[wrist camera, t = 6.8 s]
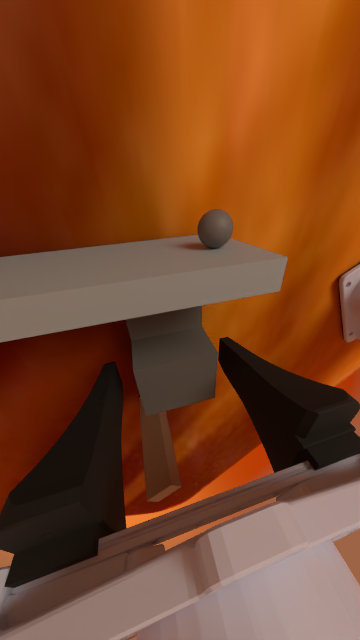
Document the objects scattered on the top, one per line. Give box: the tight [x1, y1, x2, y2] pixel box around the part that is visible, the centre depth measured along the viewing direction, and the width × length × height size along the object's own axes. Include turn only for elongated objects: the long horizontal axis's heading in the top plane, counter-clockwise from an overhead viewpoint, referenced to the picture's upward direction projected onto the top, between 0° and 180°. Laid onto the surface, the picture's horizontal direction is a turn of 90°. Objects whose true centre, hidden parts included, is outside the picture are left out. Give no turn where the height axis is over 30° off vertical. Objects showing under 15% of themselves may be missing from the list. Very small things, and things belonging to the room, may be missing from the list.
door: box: [0, 209, 288, 342], centre depth 7 cm, size 14×3×6 cm, turn 94°
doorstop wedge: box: [126, 305, 218, 416], centre depth 12 cm, size 8×4×5 cm, turn 4°
